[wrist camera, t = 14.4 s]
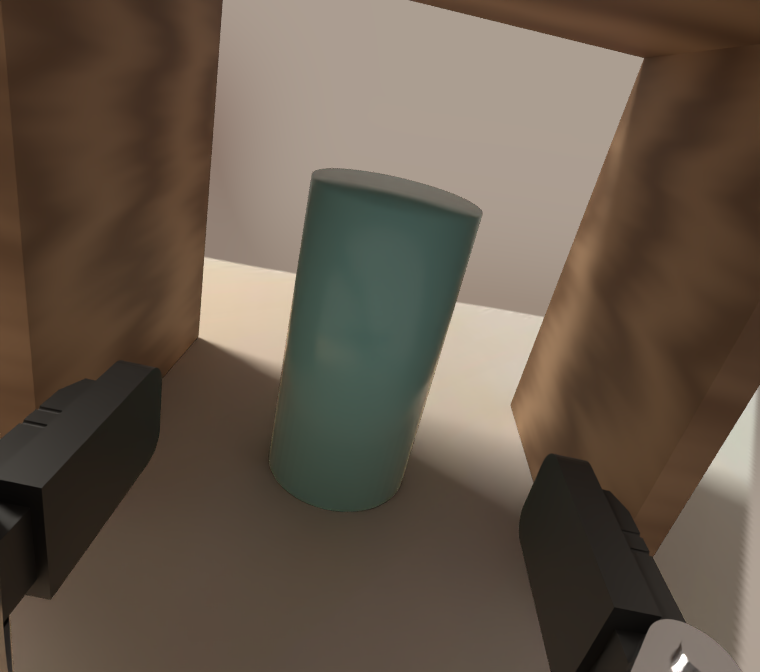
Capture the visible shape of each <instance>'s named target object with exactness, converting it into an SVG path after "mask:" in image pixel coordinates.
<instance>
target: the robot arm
mask: <svg viewBox="0 0 760 672" xmlns="http://www.w3.org/2000/svg"><path fill="white" fill-rule="evenodd" d="M161 386H162V375H161V371H160V369H159V368H156V367H152V366H147V365H142V364H138V363H133V362H128V361H124V360H119V361H117V362H116V363H114V364H113V365H112V366H111V367H110V368H109V369H108V370H107V371H106V372H105V373H104V374H102V375H101V376H100V377H99V378H98V379H97V380H91V379H86V378H85V379H83V380H81V381H78V382H76V383H73V384H71V385H69V386H66V387H64V388H62V389H59V390H58V391H57V392H55V393H54V394H53V395H52V396H51V397H50V398H48V399H47V400H46V401H45V402H44V403H42V404H41V405H40V407H39V409H38V410H37V409H35V410H34V411H33V412H32V413H31V414H29V415H28V416H27V417H26V418H25V419H24V420H23V423H22V424H21V423H19V424H18V425H16V426H15V427H14V428H13V429H12V430H11V431H9V432H8V433H7V434H6V435H5V436H3V437H2V438H1V439H0V672H14V663H13V648H12V633H11V620H10V614H11V612H12V611H13V610H14V608H15V607H16V606H17V604H18V603H19V602H20V601H21V599H22V598H23V597H24V595H29V596H34V597H39V598H45V599H50V600H51V599H52V597H53V596H54V595H55V593H56V592H57V590H58V589H59V588H60V586H61V585H62V583H63V582H64V581H65V579H66V578H67V576H68V575H69V574H70V572H71V571H72V569H73V568H74V567H75V565H76V564H77V562H78V561H79V559H80V558H81V557H82V555H83V554H84V552H85V551H86V550H87V548H88V547H89V545H90V544H91V543H92V541H93V540H94V538H95V537H96V536H97V534H98V533H99V531H100V530H101V529H102V527H103V526H104V524H105V523H106V522H107V520H108V519H109V517H110V516H111V515H112V513H113V512H114V510H115V509H116V507H117V506H118V505H119V503H120V502H121V500H122V499H123V498H124V496H125V495H126V493H127V492H128V491H129V489H130V488H131V486H132V485H133V484H134V482H135V481H136V479H137V478H138V477H139V475H140V474H141V472H142V471H143V470H144V468H145V467H146V465H147V464H148V462H149V461H150V459H151V457H152V455H153V453H154V451H155V448H156V445H157V442H158V438H159V432H160V410H161ZM519 538H520V543H521V547H522V551H523V556H524V560H525V564H526V568H527V573H528V577H529V581H530V586H531V590H532V594H533V598H534V603H535V607H536V611H537V615H538V620H539V624H540V628H541V633H542V637H543V641H544V645H545V650H546V654H547V658H548V662H549V667H550V671H551V672H742V671H741V669H740V668H739V666H738V665H737V663H736V662H735V661H734V659H733V658H732V657H731V656H730V655H729V654H728V652H727V651H726V650H725V649H724V648H723V647H722V646H720V645H719V644H718V643H717V642H716V641H715V640H714V639H712V638H711V637H710V636H708V635H707V634H705V633H704V632H702V631H701V630H699V629H697V628H695V627H693V626H691V625H689V624H687V623H686V622H685V620H684V618H683V616H682V614H681V612H680V610H679V608H678V606H677V604H676V602H675V601H674V599H673V597H672V595H671V593H670V591H669V589H668V587H667V585H666V583H665V581H664V579H663V577H662V575H661V573H660V571H659V569H658V567H657V565H656V563H655V561H654V559H653V557H652V556H649V552H650V551H649V549H648V547H647V545H646V544H645V542H644V540H643V538H641V537H640V532H639V530H638V528H637V526H636V524H635V522H634V520H633V518H632V516H631V514H630V512H629V511H628V510H627V509H626V508H625V506H624V505H623V504H622V503H621V502H620V501H619V500H618V499H617V498H616V497H615V496H614V495H613V494H612V493H611V492H610V491H608V490H604V489H602V488H601V486H600V484H599V481H598V479H597V477H596V475H595V473H594V471H593V469H592V467H591V465H590V463H589V462H588V461H586V460H581V459H576V458H572V457H567V456H562V455H558V454H553V453H550V454H548V455H547V456H546V457H545V459H544V461H543V463H542V465H541V467H540V469H539V472H538V474H537V476H536V479H535V481H534V483H533V486H532V488H531V490H530V492H529V495H528V497H527V499H526V502H525V504H524V506H523V509H522V512H521V516H520V522H519Z"/></svg>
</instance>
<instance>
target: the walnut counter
mask: <svg viewBox="0 0 760 672" xmlns="http://www.w3.org/2000/svg"><path fill="white" fill-rule="evenodd" d="M222 1H223V0H0V439H1V438H2V437H3V436H5V435H6V434H7V433H8V432H9V431H11V430H12V429H13V428H14V427H15V426H16V425H18V424H19V423H21V424H22V423H23V420H24V419H25V418H26V417H27V416H28V415H29V414H31V413H32V412H33V411H34V410H35V409H37V410H38V409H39V407H40V405H41V404H42V403H44V402H45V401H46V400H47V399H48V398H50V397H51V396H52V395H53V394H54V393H55V392H57V391H58V390H59V389H62V388H64V387H66V386H69V385H71V384H73V383H76V382H78V381H81V380H83V379H85V378H86V379H91V380H97V379H98V378H99V377H100V376H101V375H102V374H104V373H105V372H106V371H107V370H108V369H109V368H110V367H111V366H112V365H113V364H114V363H116V362H117V361H119V360H124V361H128V362H133V363H138V364H142V365H147V366H152V367H156V368H159V369H160V371H161V375H162V378H163V377H164V376H165V374H166V373H167V372H168V371H169V370H170V369H171V368H172V366H173V365H174V364H175V363H176V362H177V361H178V359H179V358H180V357H181V356H182V355H183V354H184V353H185V351H186V350H187V349H188V348H189V347H190V346H191V344H192V343H193V342H194V341H195V340H196V339H197V338H198V335H199V321H200V308H201V294H202V280H203V266H204V251H205V237H206V223H207V209H208V196H209V181H210V167H211V155H212V141H213V127H214V113H215V99H216V84H217V70H218V57H219V43H220V29H221V16H222ZM411 1H415V2H419V3H423V4H427V5H431V6H435V7H439V8H443V9H447V10H451V11H455V12H460V13H464V14H467V15H472V16H476V17H480V18H484V19H488V20H492V21H496V22H500V23H504V24H508V25H512V26H516V27H520V28H524V29H528V30H533V31H537V32H541V33H545V34H549V35H553V36H557V37H561V38H565V39H569V40H573V41H577V42H582V43H585V44H589V45H594V46H598V47H602V48H606V49H610V50H614V51H618V52H622V53H626V54H630V55H634V56H639V57H642V58H644V60H643V63H642V65H641V68H640V71H639V73H638V76H637V78H636V81H635V83H634V86H633V89H632V91H631V94H630V96H629V99H628V102H627V104H626V107H625V110H624V112H623V115H622V117H621V120H620V122H619V125H618V128H617V130H616V133H615V135H614V138H613V141H612V143H611V146H610V148H609V151H608V154H607V156H606V159H605V161H604V164H603V167H602V169H601V172H600V175H599V177H598V180H597V182H596V185H595V187H594V190H593V193H592V195H591V198H590V200H589V203H588V205H587V208H586V211H585V213H584V216H583V219H582V221H581V224H580V226H579V229H578V231H577V234H576V237H575V239H574V242H573V244H572V247H571V250H570V252H569V255H568V257H567V260H566V262H565V265H564V268H563V270H562V273H561V275H560V278H559V281H558V283H557V286H556V288H555V291H554V294H553V296H552V299H551V302H550V304H549V307H548V309H547V312H546V314H545V317H544V319H543V322H542V325H541V327H540V330H539V332H538V335H537V338H536V340H535V343H534V345H533V348H532V351H531V353H530V356H529V358H528V361H527V364H526V366H525V369H524V371H523V374H522V377H521V379H520V382H519V384H518V387H517V389H516V392H515V395H514V397H513V400H512V402H511V408H512V411H513V415H514V418H515V421H516V425H517V428H518V432H519V435H520V438H521V442H522V445H523V448H524V452H525V455H526V459H527V462H528V465H529V469H530V472H531V475H532V479H533V482H534V481H535V479H536V476H537V474H538V472H539V469H540V467H541V465H542V463H543V461H544V459H545V457H546V456H547V455H548V454H550V453H553V454H558V455H562V456H567V457H572V458H576V459H581V460H586V461H588V462H589V463H590V465H591V467H592V469H593V471H594V473H595V475H596V477H597V479H598V481H599V484H600V486H601V488H602V489H604V490H608V491H610V492H611V493H612V494H613V495H614V496H615V497H616V498H617V499H618V500H619V501H620V502H621V503H622V504H623V505H624V506H625V508H626V509H627V510H628V511H629V512H630V514H631V516H632V518H633V520H634V522H635V524H636V526H637V528H638V530H639V532H640V537H641V538H643V540H644V542H645V544H646V545H647V547H648V549H649V551H650V552H649V556H652V557H653V556H654V555H655V553H656V551H657V550H658V548H659V546H660V545H661V543H662V542H663V540H664V538H665V537H666V535H667V534H668V532H669V530H670V529H671V527H672V525H673V524H674V522H675V521H676V519H677V517H678V516H679V514H680V513H681V511H682V509H683V508H684V506H685V504H686V503H687V501H688V500H689V498H690V496H691V495H692V493H693V492H694V490H695V488H696V487H697V485H698V484H699V482H700V480H701V479H702V477H703V475H704V474H705V472H706V471H707V469H708V467H709V466H710V464H711V463H712V461H713V459H714V458H715V456H716V454H717V453H718V451H719V450H720V448H721V446H722V445H723V443H724V442H725V440H726V438H727V437H728V435H729V433H730V432H731V430H732V429H733V427H734V425H735V424H736V422H737V421H738V419H739V417H740V416H741V414H742V413H743V411H744V409H745V408H746V406H747V404H748V403H749V401H750V400H751V398H752V396H753V395H754V393H755V392H756V390H757V388H758V387H759V385H760V0H411Z"/></svg>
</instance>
